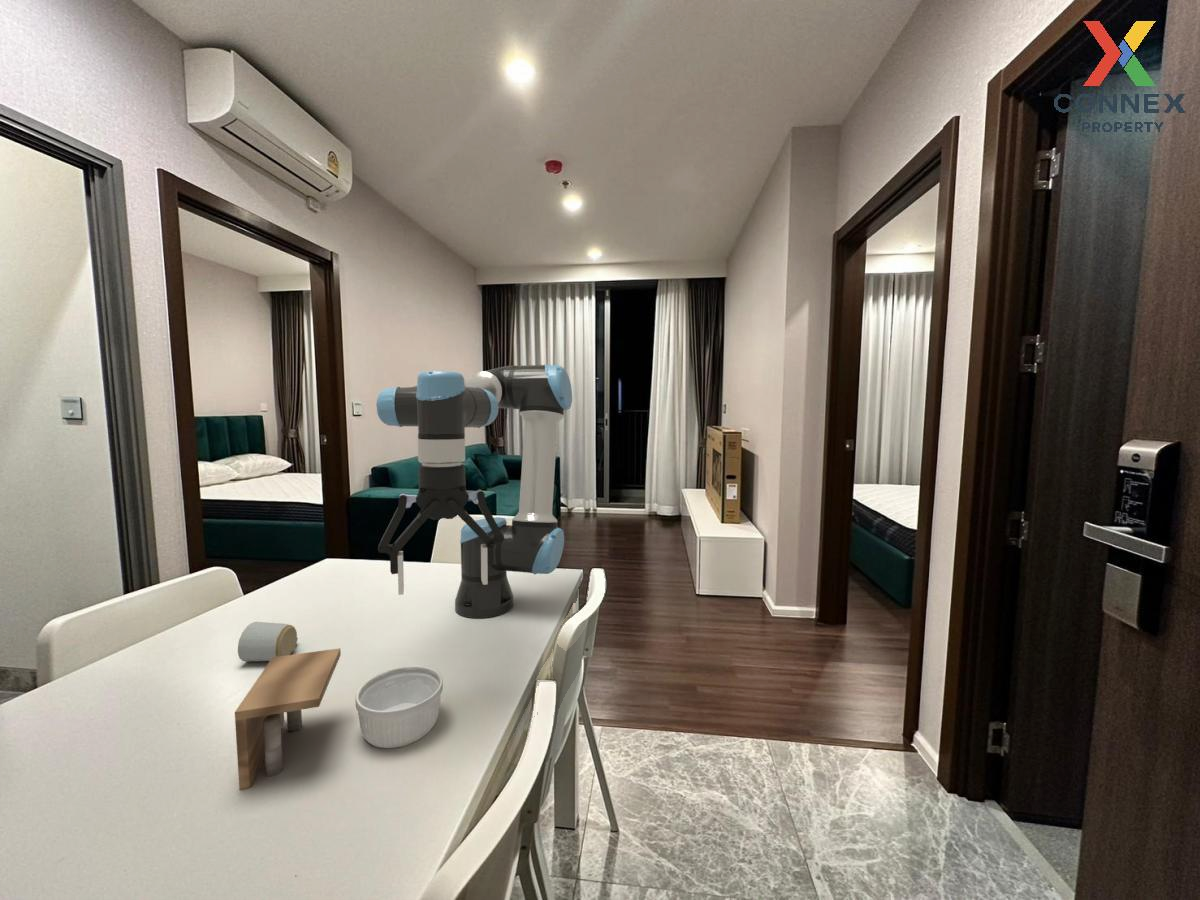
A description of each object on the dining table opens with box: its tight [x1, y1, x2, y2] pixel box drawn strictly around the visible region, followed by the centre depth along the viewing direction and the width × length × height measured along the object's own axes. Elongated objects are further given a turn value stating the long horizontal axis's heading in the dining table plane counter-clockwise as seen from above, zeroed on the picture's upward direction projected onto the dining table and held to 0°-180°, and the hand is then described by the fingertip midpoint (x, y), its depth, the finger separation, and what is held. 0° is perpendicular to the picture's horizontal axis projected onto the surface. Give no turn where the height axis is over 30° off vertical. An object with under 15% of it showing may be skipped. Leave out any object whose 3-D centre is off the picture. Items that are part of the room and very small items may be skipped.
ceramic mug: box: [237, 621, 299, 662], centre depth 101 cm, size 11×8×8 cm
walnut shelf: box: [234, 648, 342, 790], centre depth 73 cm, size 10×15×11 cm, turn 18°
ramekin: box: [355, 665, 444, 749], centre depth 78 cm, size 13×13×7 cm
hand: (444, 587), depth 82 cm, fingers open, 13 cm apart
